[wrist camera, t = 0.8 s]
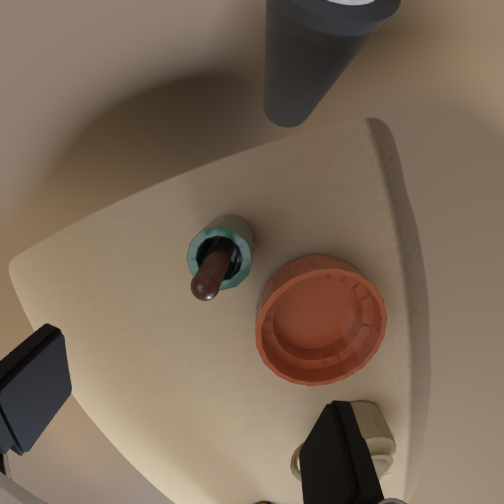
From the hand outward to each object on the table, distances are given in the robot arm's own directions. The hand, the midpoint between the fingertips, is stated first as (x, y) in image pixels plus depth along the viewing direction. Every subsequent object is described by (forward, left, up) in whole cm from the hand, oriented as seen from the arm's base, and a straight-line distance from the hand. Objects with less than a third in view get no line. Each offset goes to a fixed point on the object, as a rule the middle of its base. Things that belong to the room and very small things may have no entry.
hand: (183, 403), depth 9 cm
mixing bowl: (+6, +11, -25) cm, 28 cm away
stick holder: (0, -1, -25) cm, 25 cm away
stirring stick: (0, -1, -25) cm, 25 cm away
